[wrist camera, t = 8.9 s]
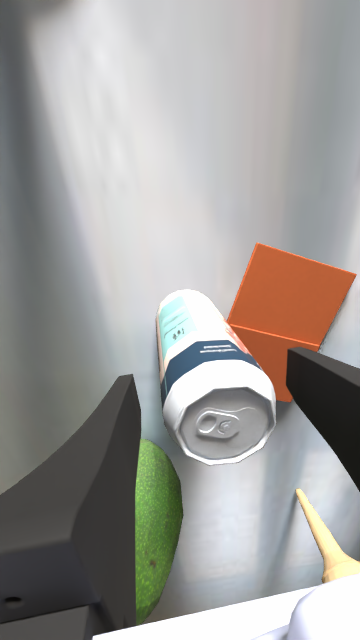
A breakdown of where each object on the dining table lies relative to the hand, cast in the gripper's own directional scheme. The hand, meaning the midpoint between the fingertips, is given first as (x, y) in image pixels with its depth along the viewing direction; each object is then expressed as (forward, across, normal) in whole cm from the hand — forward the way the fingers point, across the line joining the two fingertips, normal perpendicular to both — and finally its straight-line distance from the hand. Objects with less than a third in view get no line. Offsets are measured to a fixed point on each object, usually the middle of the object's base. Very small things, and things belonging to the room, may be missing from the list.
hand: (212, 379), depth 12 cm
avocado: (+10, +6, +14) cm, 18 cm away
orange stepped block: (+10, -8, +3) cm, 13 cm away
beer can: (+10, 0, 0) cm, 10 cm away
